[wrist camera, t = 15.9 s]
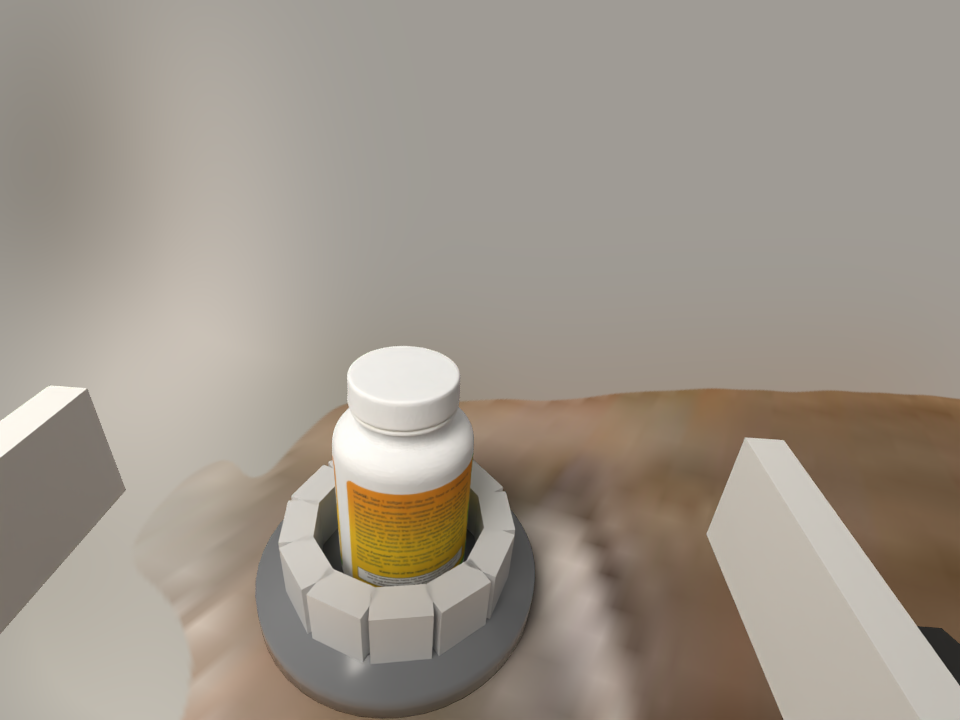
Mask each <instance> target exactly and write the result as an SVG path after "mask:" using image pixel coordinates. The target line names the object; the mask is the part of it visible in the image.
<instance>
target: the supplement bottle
mask: <svg viewBox="0 0 960 720" xmlns="http://www.w3.org/2000/svg"><path fill="white" fill-rule="evenodd" d="M347 385H348V395H347V399H348V400H347V401H348V405H349V409H347V410H346V411H345V412H344V414H343V415H342V416H341V417H340V419H339V420H338V422H337V424H336V426H335V429H334V432H333V438H332V458H333V468H334V481H335V493H336V506H337V519H338V532H339V544H340V556H341V562H342V568H343V572H344V574H346V575H348V576H350V577H353V578H355V579H357V580H360V581H362V582H364V583H366V584H369V585H371V586H373V587H390V586H404V585H419V584H427V583H429V582H431V581H432V580H434V579H436V578H438V577H439V576H441V575H443V574H444V573H446V572H448V571H450V570H451V569H453V568H455V567H456V566H458V565H460V564H462V563H463V562H464V555H465V546H466V532H467V521H468V508H469V497H470V485H471V472H472V463H473V450H474V435H473V430H472V426H471V423H470V421H469V419H468V418H467V416H466V415H465V413H464V412H463V411H462V410H461V409H460V408H459V407H458V406H459V398H460V372H459V369H458V368H457V366H456V364H455V363H454V362H453V361H452V360H451V359H449V358H448V357H446V356H445V355H443V354H441V353H439V352H436V351H433V350H430V349H426V348H421V347H413V346H394V347H386V348H381V349H377V350H374V351H371V352H368V353H366V354H364V355H362V356H361V357H359V358H358V359H357V360H355V361H354V362H353V364H352V365H351V367H350V368H349V371H348V374H347Z"/></svg>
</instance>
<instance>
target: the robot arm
mask: <svg viewBox="0 0 960 720" xmlns="http://www.w3.org/2000/svg"><path fill="white" fill-rule="evenodd" d="M125 490H126V489H125V487H124V484H123V482H122V479H121V476H120V473H119V471H118V468H117V465H116V463H115V460H114V458H113V455H112V452H111V450H110V447H109V445H108V442H107V439H106V437H105V434H104V431H103V429H102V426H101V423H100V421H99V418H98V416H97V413H96V410H95V408H94V405H93V402H92V400H91V397H90V395H89V392H88V389H87V388H74V387H62V386H48V387H47V388H45V389H44V390H43V391H41V392H40V393H38V394H37V395H35V396H34V397H33V398H31V399H30V400H29V401H27V402H26V403H24V404H23V405H22V406H20V407H19V408H18V409H16V410H15V411H14V412H12V413H11V414H9V415H8V416H7V417H5V418H4V419H3V420H1V421H0V634H1V632H2V631H3V630H4V629H5V628H6V627H7V626H8V625H9V623H10V622H11V621H12V620H13V619H14V618H15V617H16V615H17V614H18V613H19V612H20V611H21V610H22V608H23V607H24V606H25V605H26V604H27V603H28V602H29V600H30V599H31V598H32V597H33V596H34V595H35V593H36V592H37V591H38V590H39V589H40V588H41V587H42V585H43V584H44V583H45V582H46V581H47V580H48V579H49V577H50V576H51V575H52V574H53V573H54V572H55V571H56V570H57V568H58V567H59V566H60V565H61V564H62V563H63V561H64V560H65V559H66V558H67V557H68V556H69V555H70V553H71V552H72V551H73V550H74V549H75V548H76V547H77V545H78V544H79V543H80V542H81V541H82V540H83V538H84V537H85V536H86V535H87V534H88V533H89V532H90V531H91V529H92V528H93V527H94V526H95V525H96V524H97V522H98V521H99V520H100V519H101V518H102V517H103V516H104V515H105V513H106V512H107V511H108V510H109V509H110V508H111V506H112V505H113V504H114V503H115V502H116V501H117V500H118V498H119V497H120V496H121V495H122V494H123V493H124V491H125ZM707 537H708V539H709V541H710V544H711V546H712V549H713V551H714V553H715V556H716V558H717V561H718V563H719V565H720V568H721V570H722V573H723V575H724V578H725V580H726V582H727V585H728V587H729V590H730V592H731V594H732V597H733V599H734V602H735V604H736V606H737V609H738V611H739V614H740V616H741V618H742V621H743V623H744V626H745V628H746V630H747V633H748V635H749V638H750V640H751V643H752V645H753V647H754V650H755V652H756V655H757V657H758V659H759V662H760V664H761V667H762V669H763V671H764V674H765V676H766V679H767V681H768V683H769V686H770V688H771V691H772V693H773V696H774V698H775V700H776V703H777V705H778V708H779V710H780V712H781V715H782V717H783V720H960V644H959V643H958V642H957V641H956V640H954V639H953V638H952V637H951V636H950V635H949V634H948V633H946V632H945V631H944V630H943V629H942V628H932V627H919V626H916V624H915V623H914V621H913V620H912V619H911V617H910V616H909V614H908V613H907V612H906V610H905V609H904V607H903V606H902V605H901V603H900V602H899V600H898V599H897V598H896V596H895V595H894V593H893V592H892V591H891V589H890V588H889V586H888V585H887V584H886V582H885V581H884V579H883V578H882V577H881V575H880V574H879V572H878V571H877V570H876V568H875V567H874V565H873V564H872V563H871V561H870V560H869V558H868V557H867V556H866V554H865V553H864V552H863V550H862V549H861V547H860V546H859V545H858V543H857V542H856V540H855V539H854V538H853V536H852V535H851V533H850V532H849V531H848V529H847V528H846V526H845V525H844V524H843V522H842V521H841V519H840V518H839V517H838V515H837V514H836V512H835V511H834V510H833V508H832V507H831V505H830V504H829V503H828V501H827V500H826V498H825V497H824V496H823V494H822V493H821V491H820V490H819V489H818V487H817V486H816V484H815V483H814V482H813V480H812V479H811V477H810V476H809V475H808V473H807V472H806V471H805V469H804V468H803V466H802V465H801V464H800V462H799V461H798V459H797V458H796V457H795V455H794V454H793V452H792V451H791V450H790V448H789V447H788V445H787V444H786V443H785V441H784V440H773V439H759V438H746V437H745V439H744V441H743V444H742V446H741V449H740V451H739V454H738V456H737V459H736V461H735V464H734V466H733V469H732V471H731V474H730V477H729V479H728V482H727V484H726V487H725V489H724V492H723V494H722V497H721V499H720V502H719V504H718V507H717V509H716V512H715V514H714V517H713V519H712V522H711V524H710V527H709V529H708V532H707Z"/></svg>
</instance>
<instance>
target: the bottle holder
mask: <svg viewBox="0 0 960 720" xmlns="http://www.w3.org/2000/svg"><path fill="white" fill-rule="evenodd" d="M502 491H503V487H502V486H501V485H500V484H499V483H498V482H497V481H496V480H495V479H494V478H493V477H492V476H490V475H489V474H488V473H487V472H486V471H485V470H484V469H483V468H482V467H481V466H480V465H479V464H477V463H476V462H475V461H474V460H473V463H472V472H471V485H470V497H469V508H468V521H467V532H466V546H465V555H464V562H463V563H462V564H460V565H458V566H456V567H455V568H453V569H451V570H450V571H448V572H446V573H444V574H443V575H441V576H439V577H438V578H436V579H434V580H432V581H431V582H429V583H427V584H419V585H404V586H390V587H373V586H371V585H369V584H366V583H364V582H362V581H360V580H357V579H355V578H353V577H350V576H348V575H346V574H344V572H343V568H342V562H341V556H340V544H339V532H338V519H337V506H336V493H335V481H334V468H333V460H332V461H329V467H328V466H325V465H323V466H322V467H321V468H320V469H319V470H318V471H317V472H316V473H314V474H313V475H312V476H311V477H310V478H309V479H308V480H307V481H306V482H305V483H304V484H303V485H302V486H301V487H300V488H299V489H298V490H297V491H296V492H295V493H294V494H293V495H292V496H291V497H292V501H288V504H287V508H286V513H285V517H284V520H283V521H282V522H281V523H280V524H279V526H278V527H277V529H276V530H275V531H274V533H273V534H272V536H271V537H270V539H269V541H268V543H267V545H266V547H265V549H264V551H263V554H262V557H261V560H260V563H259V566H258V572H257V577H256V595H255V597H256V604H257V611H258V616H259V621H260V625H261V630H262V634H263V637H264V640H265V643H266V646H267V649H268V651H269V653H270V655H271V657H272V659H273V660H274V662H275V664H276V666H277V667H278V668H279V669H280V671H281V672H282V673H283V674H284V676H285V677H286V678H287V679H288V680H289V681H290V682H291V683H292V684H293V685H294V686H295V687H296V688H298V689H299V690H300V691H301V692H302V693H304V694H305V695H307V696H309V697H310V698H312V699H313V700H315V701H316V702H318V703H320V704H323V705H325V706H327V707H330V708H332V709H334V710H337V711H340V712H344V713H348V714H352V715H355V716H361V717H371V718H402V717H408V716H414V715H419V714H424V713H427V712H430V711H434V710H437V709H440V708H443V707H445V706H447V705H450V704H452V703H454V702H456V701H458V700H460V699H462V698H464V697H466V696H467V695H469V694H470V693H472V692H473V691H475V690H476V689H478V688H479V687H481V686H482V685H483V684H484V683H485V682H486V681H488V680H489V679H490V678H491V677H492V676H493V675H494V674H496V672H497V671H498V670H499V669H500V668H501V667H502V665H503V664H504V663H505V662H506V661H507V660H508V658H509V657H510V655H511V654H512V652H513V651H514V649H515V647H516V646H517V644H518V642H519V640H520V638H521V636H522V633H523V631H524V629H525V626H526V622H527V619H528V615H529V611H530V606H531V601H532V596H533V589H534V581H535V567H534V558H533V553H532V548H531V545H530V543H529V540H528V537H527V534H526V533H525V531H524V529H523V527H522V525H521V523H520V522H519V520H518V519H517V517H516V516H515V515H514V513H513V512H512V511H511V510H510V507H509V503H508V499H507V495H506V491H505V492H502Z"/></svg>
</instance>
